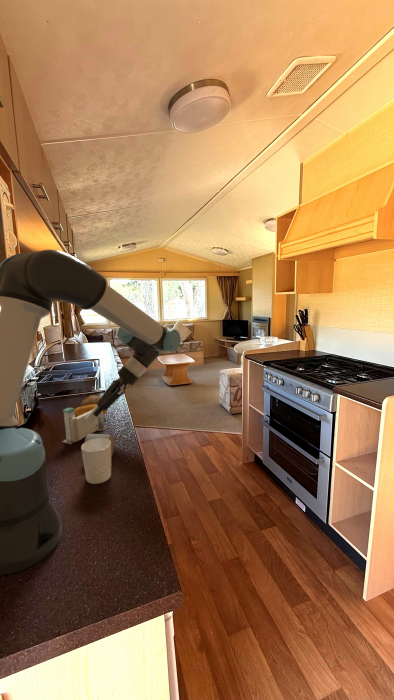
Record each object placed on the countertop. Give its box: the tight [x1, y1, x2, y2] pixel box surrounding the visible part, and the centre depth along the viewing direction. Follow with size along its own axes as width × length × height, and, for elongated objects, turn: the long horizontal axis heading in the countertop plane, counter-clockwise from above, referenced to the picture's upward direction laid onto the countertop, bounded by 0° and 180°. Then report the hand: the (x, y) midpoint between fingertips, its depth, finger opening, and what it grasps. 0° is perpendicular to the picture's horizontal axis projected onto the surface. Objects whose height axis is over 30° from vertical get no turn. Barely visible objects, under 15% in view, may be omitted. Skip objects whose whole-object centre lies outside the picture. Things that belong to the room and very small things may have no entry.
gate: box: [70, 410, 99, 443], centre depth 110 cm, size 12×2×9 cm, turn 155°
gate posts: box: [62, 407, 108, 445], centre depth 112 cm, size 18×5×12 cm, turn 144°
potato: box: [74, 404, 108, 417], centre depth 126 cm, size 8×14×7 cm, turn 108°
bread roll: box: [80, 394, 101, 407], centre depth 139 cm, size 10×10×8 cm
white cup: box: [80, 438, 112, 485], centre depth 85 cm, size 8×8×10 cm
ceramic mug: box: [84, 433, 115, 457], centre depth 97 cm, size 11×8×8 cm
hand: (88, 421), depth 108 cm, fingers closed
